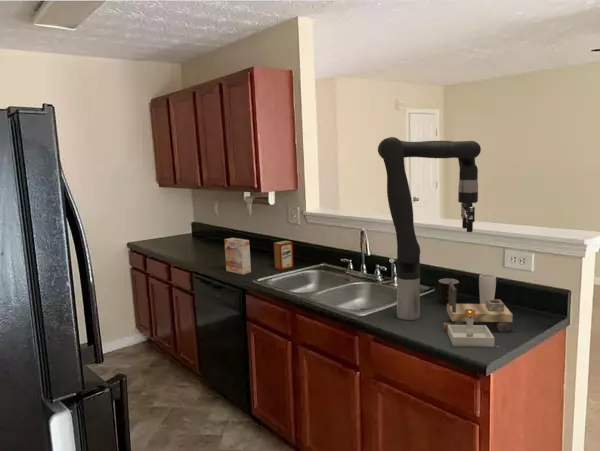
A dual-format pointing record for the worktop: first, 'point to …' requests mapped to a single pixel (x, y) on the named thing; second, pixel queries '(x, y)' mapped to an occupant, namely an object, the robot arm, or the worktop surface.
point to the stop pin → (469, 322)
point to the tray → (479, 339)
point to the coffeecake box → (237, 255)
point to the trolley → (479, 311)
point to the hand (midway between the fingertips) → (467, 230)
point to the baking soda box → (283, 255)
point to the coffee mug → (445, 289)
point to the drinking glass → (487, 287)
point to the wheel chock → (446, 326)
